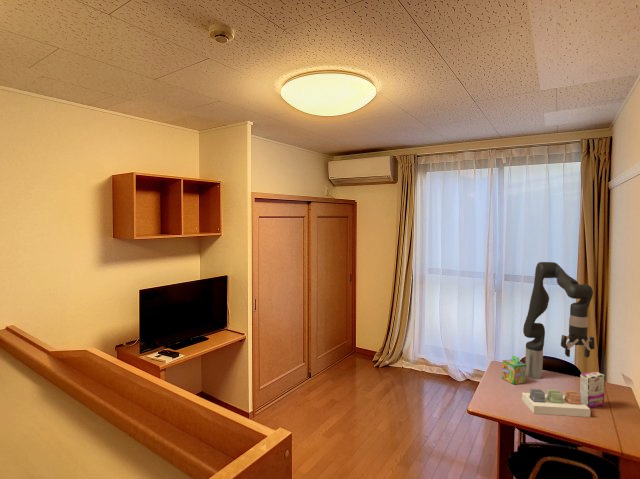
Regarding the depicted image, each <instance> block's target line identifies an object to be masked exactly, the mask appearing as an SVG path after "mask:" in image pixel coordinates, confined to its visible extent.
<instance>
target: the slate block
mask: <svg viewBox="0 0 640 479" xmlns="http://www.w3.org/2000/svg"><path fill="white" fill-rule="evenodd" d="M529 393H530V399H531V400H532V401H533V402H542V403H545V394H546V392H545V393H544V391H543V390H542V389H541V388H529Z"/></svg>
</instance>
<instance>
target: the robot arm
mask: <svg viewBox="0 0 640 479" xmlns="http://www.w3.org/2000/svg"><path fill="white" fill-rule="evenodd" d="M534 271H535V273H534V281H533V288H532V292H531V296H530V301H529V305H528V306H529V307H528V311H527V315H526V317H525V321H524V324H523V329H522V331H523V335H524V337H526V338H528V339H532V340H530V341H527V342H526V343H525V359H524V360H525V362H524V363H525V364H526V377H528V378H531V379H542V378H543V369H544V368H543V367H544V366H543V363H544V362H543V361H544V347H545V337H546V329H545V326H544V324H543V323H541V322H536V321H537V319H538V318H539V317H540V316H542V315H543V314H544V313H545V312H546V311H547V309H548V305H549V302H550V297H549V294H548V292H547V290H546V288H545V286H544V279H556V284H557V285H558V286H559V287H560V288H562V290H564V291H565V293H566V295H567V296H568V298H571V299H575V300H579V301H577V302H572V303H571V304H570V305H569V306H570V309H569V317H568V318H569V319H568V335H564V334H562V335H561V339H560V347H562V348H563V349H564V355H565V356H566V357H568V358H570V357H571V348H572V347H574V346H583V347H584V357H585V358H589V357H590V356H591V355H590V354H591V350H595V348H596V347H595V337H594V336H591V335H589V336H588V329H589V320H588V319H589V318H588V313H589V310H588V309H589V306H590V303H591V301H592V298H593V295H594V290H593V287H592V286H590V285H589V284H580V283H579V282H578V281H577V280H576V279H575V278H573V277H571V276H570V275H569V274H567V272H566V271H565V270H564V269H563V268H562V267H561V266H560V265H559V263H557V262H553V261H539V262H538V263H537V264H536V266H535V270H534ZM587 341H588V343H587Z"/></svg>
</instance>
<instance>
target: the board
mask: <svg viewBox="0 0 640 479" xmlns="http://www.w3.org/2000/svg"><path fill="white" fill-rule="evenodd" d="M521 400H522V402H523V403H524V404H525V405H526V407H527V408H528V409H529V410H530V411H531V412H532V413H533V414H535V415H550V416H551V415H552V416H565V417H566V416H570V417H582V418H583V417H585V418H591V408H588V407H587V406H586V405H585V404H584V403H582V402H581V405H576V404H569V403H568V402H567V401H565V394H563V404H559V403H551V402H550V401H549V400H548V399H547V393H545V403H542V402H533V401H532V400H531V399H530V392H521Z"/></svg>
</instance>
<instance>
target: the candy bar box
mask: <svg viewBox="0 0 640 479" xmlns="http://www.w3.org/2000/svg"><path fill="white" fill-rule="evenodd" d="M605 377H606V375H605V374H603V373H600V372H598V371H592V372H585V373H581V374H580V375H579V378H580V379H579V380H580V381H579V382H580V383H579V391H580V392H579V394H580V395H581V402H582V403H584V404H585V405H586V406H587V407H588V408H590V409H591V408H592V409H593V408H596V407H602V406H603V407H604V406H605V383H606V382H605V381H606V380H605Z"/></svg>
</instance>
